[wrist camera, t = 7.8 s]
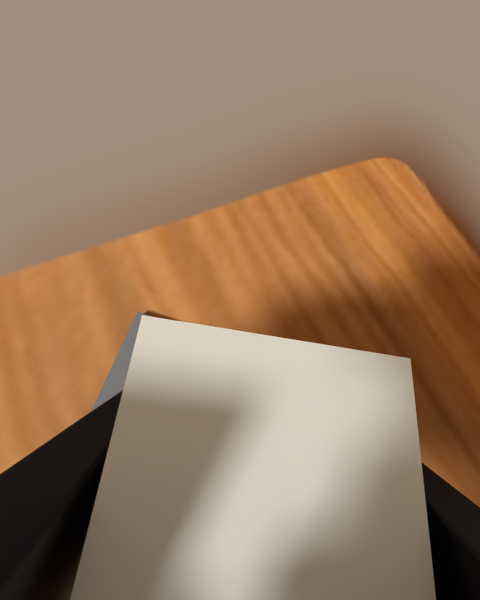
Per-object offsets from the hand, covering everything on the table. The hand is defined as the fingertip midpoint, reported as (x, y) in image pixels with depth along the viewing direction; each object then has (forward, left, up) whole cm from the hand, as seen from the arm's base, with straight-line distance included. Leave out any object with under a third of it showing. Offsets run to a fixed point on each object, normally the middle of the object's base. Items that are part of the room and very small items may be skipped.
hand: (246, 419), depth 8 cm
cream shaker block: (0, +1, -7) cm, 7 cm away
